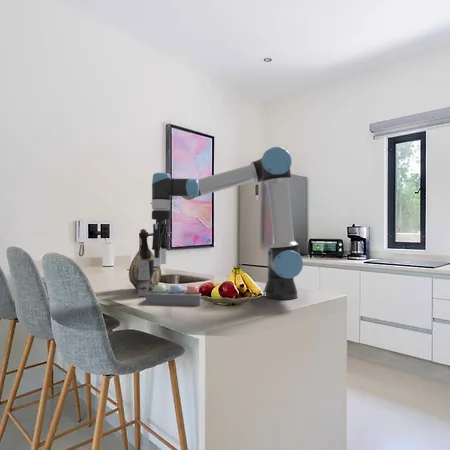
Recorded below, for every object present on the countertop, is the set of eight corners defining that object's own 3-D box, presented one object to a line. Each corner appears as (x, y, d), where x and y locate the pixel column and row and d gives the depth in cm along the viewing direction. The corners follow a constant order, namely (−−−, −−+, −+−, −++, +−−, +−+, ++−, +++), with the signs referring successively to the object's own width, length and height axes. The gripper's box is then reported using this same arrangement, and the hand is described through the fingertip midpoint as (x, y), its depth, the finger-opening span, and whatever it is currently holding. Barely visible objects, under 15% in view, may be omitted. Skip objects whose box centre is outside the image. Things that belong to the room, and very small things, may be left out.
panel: (204, 299, 152) (204, 290, 152) (199, 305, 140) (199, 295, 140) (154, 298, 154) (154, 288, 154) (145, 303, 142) (145, 293, 142)
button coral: (199, 295, 148) (199, 285, 148) (197, 297, 144) (197, 287, 144) (188, 295, 149) (188, 285, 149) (185, 297, 144) (186, 287, 144)
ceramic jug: (129, 288, 178) (129, 228, 179) (160, 287, 182) (160, 229, 182) (127, 294, 162) (128, 228, 162) (162, 293, 165) (162, 229, 166)
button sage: (166, 294, 150) (167, 284, 150) (163, 296, 145) (163, 286, 145) (155, 293, 150) (155, 284, 150) (152, 296, 145) (152, 286, 145)
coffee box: (151, 297, 156) (151, 260, 156) (137, 296, 158) (138, 260, 158) (158, 293, 165) (159, 258, 165) (146, 292, 167) (146, 258, 167)
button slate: (183, 294, 149) (183, 285, 149) (180, 297, 144) (180, 287, 144) (171, 294, 150) (172, 285, 150) (169, 296, 145) (169, 286, 145)
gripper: (159, 211, 159) (158, 262, 158) (144, 208, 138) (143, 267, 138) (175, 211, 158) (174, 262, 158) (163, 209, 137) (162, 267, 137)
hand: (160, 264), depth 148 cm, fingers open, 8 cm apart
